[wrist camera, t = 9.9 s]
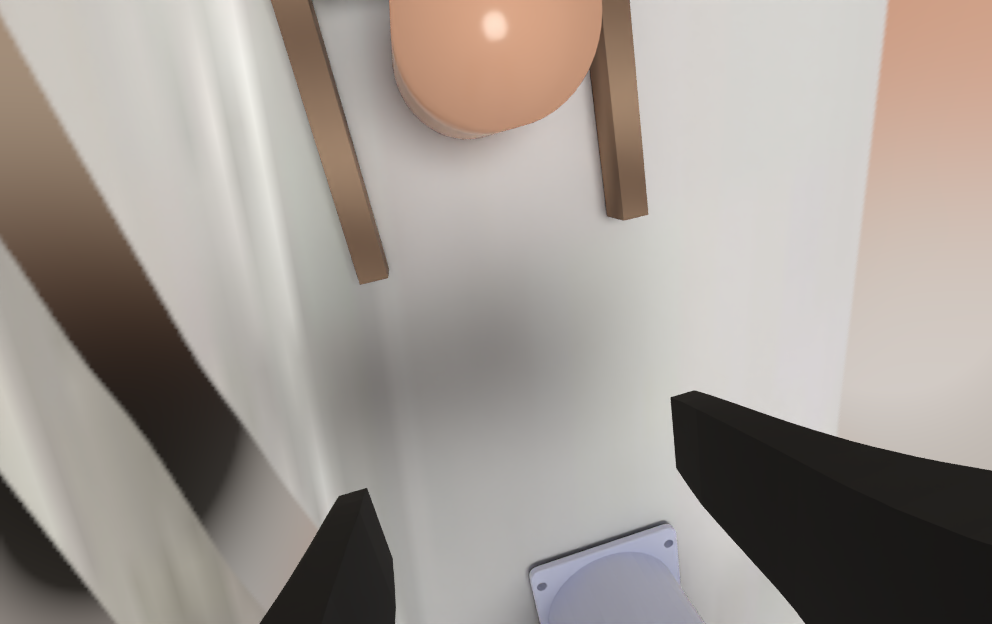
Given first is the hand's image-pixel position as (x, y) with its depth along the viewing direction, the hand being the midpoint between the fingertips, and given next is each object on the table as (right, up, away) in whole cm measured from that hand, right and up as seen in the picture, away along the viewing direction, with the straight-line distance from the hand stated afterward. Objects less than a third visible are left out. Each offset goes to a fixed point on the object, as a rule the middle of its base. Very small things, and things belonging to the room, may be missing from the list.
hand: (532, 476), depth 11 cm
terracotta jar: (-2, +12, +6) cm, 14 cm away
